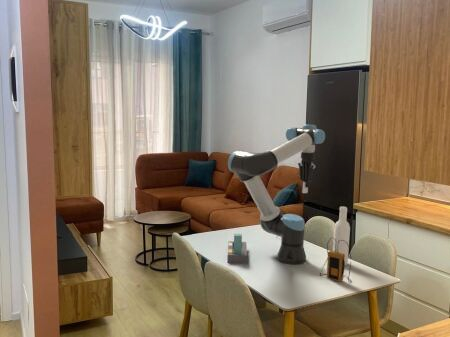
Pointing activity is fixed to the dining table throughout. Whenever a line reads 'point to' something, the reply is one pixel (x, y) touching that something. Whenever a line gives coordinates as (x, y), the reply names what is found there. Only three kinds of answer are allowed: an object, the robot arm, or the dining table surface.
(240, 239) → the switch knob
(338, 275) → the multimeter
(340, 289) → the dining table surface
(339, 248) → the bottle
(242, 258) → the switch housing
